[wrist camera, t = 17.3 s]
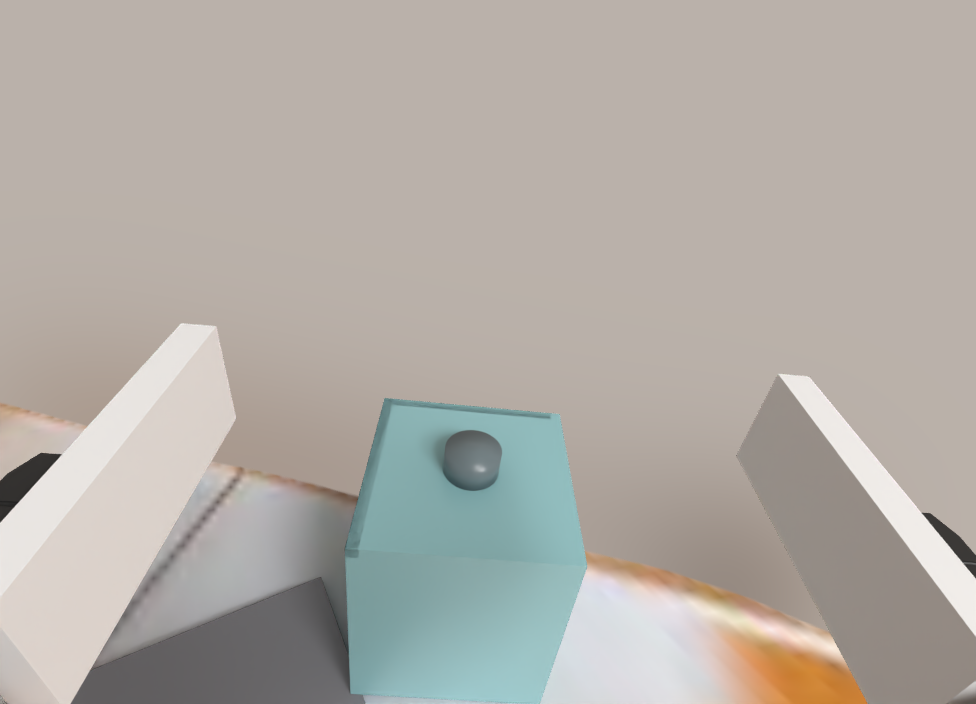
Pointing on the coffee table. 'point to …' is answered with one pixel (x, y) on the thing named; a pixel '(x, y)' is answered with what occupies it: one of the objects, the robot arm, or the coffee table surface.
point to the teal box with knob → (462, 554)
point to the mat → (238, 659)
